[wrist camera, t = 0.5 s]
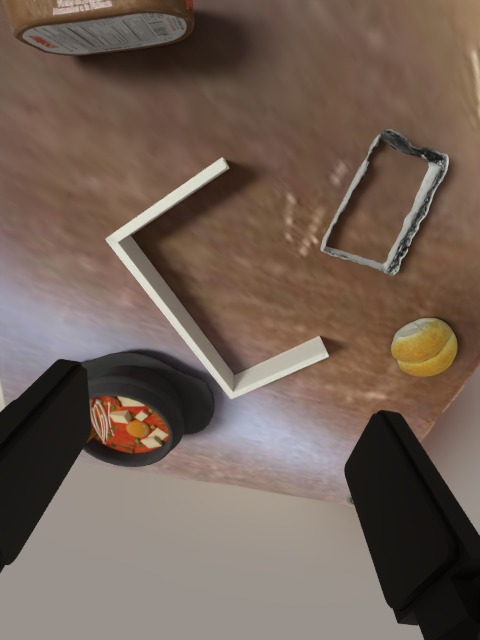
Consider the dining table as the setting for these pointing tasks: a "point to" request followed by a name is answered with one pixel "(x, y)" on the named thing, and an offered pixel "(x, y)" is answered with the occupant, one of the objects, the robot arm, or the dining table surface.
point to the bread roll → (424, 347)
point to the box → (182, 319)
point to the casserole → (142, 408)
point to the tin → (98, 24)
